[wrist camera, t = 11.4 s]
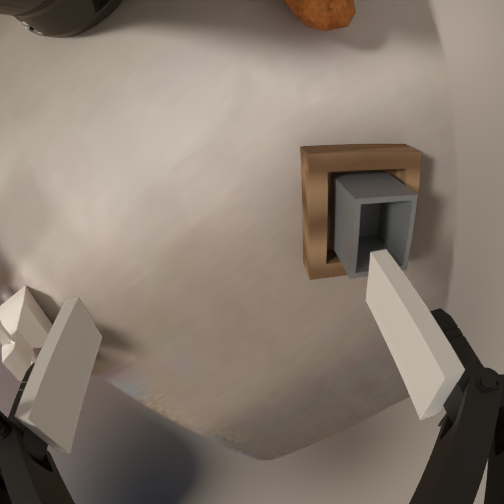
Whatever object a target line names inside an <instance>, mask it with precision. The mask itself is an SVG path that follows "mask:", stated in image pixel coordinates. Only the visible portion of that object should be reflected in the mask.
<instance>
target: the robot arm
mask: <svg viewBox="0 0 504 504" xmlns="http://www.w3.org/2000/svg"><path fill="white" fill-rule="evenodd" d="M122 1H123V0H0V14H4V15H12V16H14V17H15V18H16V19H18V20H19V21H21V22H22V24H23V25H24V26H25V27H26V28H27V29H28V30H30V31H31V32H33V33H36V34H38V35H42V36H48V37H57V38H60V37H68V36H73V35H76V34H79V33H82V32H84V31H86V30H88V29H90V28H92V27H93V26H95V25H97V24H98V23H100V22H101V21H102V20H104V19H105V18H106V17H107V16H109V15H110V14H111V13H112V12H113V11H114V10H115V9H116V8H117V7H118V5H119V4H120V3H121V2H122ZM366 302H367V304H368V306H369V308H370V310H371V312H372V314H373V316H374V318H375V320H376V322H377V324H378V326H379V328H380V330H381V333H382V335H383V337H384V339H385V341H386V343H387V345H388V347H389V349H390V352H391V354H392V356H393V358H394V360H395V363H396V365H397V367H398V369H399V371H400V374H401V376H402V378H403V380H404V383H405V385H406V387H407V390H408V392H409V394H410V397H411V399H412V401H413V404H414V406H415V409H416V411H417V413H418V416H419V418H420V420H422V419H425V418H428V417H430V416H433V415H435V414H438V413H439V411H440V410H441V408H442V406H444V408H445V410H446V412H447V413H446V414H445V416H444V417H443V419H442V420H441V421H440V423H439V425H438V426H440V427H441V429H440V432H439V435H438V438H437V440H436V443H435V446H434V448H433V451H432V454H431V456H430V459H429V461H428V463H427V466H426V468H425V471H424V473H423V475H422V477H421V480H420V482H419V484H418V486H417V488H416V491H415V493H414V495H413V497H412V499H411V501H410V503H409V504H473V502H474V500H475V497H476V494H477V491H478V489H479V486H480V482H481V480H482V476H483V473H484V470H485V467H486V463H487V460H488V470H487V482H486V491H485V498H484V504H504V375H499V374H498V373H497V372H495V371H494V370H492V369H490V368H484V367H483V365H482V364H481V362H480V361H479V359H478V357H477V356H476V354H475V353H474V351H473V349H472V348H471V346H470V345H469V343H468V341H467V340H466V338H465V337H464V336H463V334H462V332H461V331H460V329H459V328H458V327H457V325H456V323H455V322H454V320H453V319H452V317H451V316H450V315H449V314H447V313H446V312H445V311H443V310H442V309H441V308H440V309H437V310H433V311H429V310H428V308H427V307H426V305H425V304H424V302H423V301H422V299H421V298H420V296H419V295H418V293H417V292H416V290H415V289H414V287H413V286H412V284H411V283H410V281H409V280H408V279H407V277H406V276H405V274H404V273H403V271H402V270H401V269H400V267H399V266H398V264H397V263H396V262H395V260H394V259H393V258H392V256H391V255H390V254H389V252H388V251H387V249H385V250H379V251H373V252H370V263H369V274H368V284H367V294H366ZM102 338H103V337H102V336H101V334H100V332H99V331H98V329H97V327H96V326H95V324H94V322H93V321H92V319H91V317H90V316H89V314H88V312H87V310H86V309H85V307H84V305H83V303H82V301H81V300H80V298H79V297H72V298H66V300H65V302H64V304H63V306H62V308H61V310H60V312H59V314H58V316H57V318H56V320H55V322H54V324H53V326H52V328H51V330H50V332H49V334H48V336H47V338H46V340H45V342H44V345H43V347H42V349H41V351H40V353H39V356H38V358H37V360H36V363H33V364H32V365H31V366H30V367H29V369H28V370H27V371H26V373H25V376H24V378H23V380H22V382H23V383H21V385H20V388H19V391H18V393H17V396H16V398H15V401H14V403H13V406H12V409H11V412H10V414H9V417H8V418H7V417H6V416H5V415H4V414H3V413H2V412H1V411H0V504H75V503H74V501H73V499H72V497H71V495H70V494H69V492H68V490H67V488H66V486H65V484H64V482H63V480H62V478H61V476H60V474H59V471H58V469H57V467H56V465H55V463H54V460H53V458H52V456H51V454H50V453H49V451H47V447H48V445H49V446H51V447H52V448H53V449H54V450H56V451H59V452H65V453H70V452H71V447H72V443H73V438H74V434H75V430H76V426H77V422H78V418H79V414H80V410H81V407H82V403H83V399H84V396H85V392H86V388H87V385H88V382H89V379H90V375H91V372H92V369H93V365H94V362H95V359H96V356H97V353H98V350H99V347H100V344H101V341H102ZM441 425H442V426H441Z"/></svg>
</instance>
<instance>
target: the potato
mask: <svg viewBox="0 0 504 504" xmlns="http://www.w3.org/2000/svg"><path fill="white" fill-rule="evenodd" d="M284 1H285V2H286V4H287V5H288V6H289V7H290V9H291V10H292V11H293V13H294V14H295V15H296V17H297V18H298V19H299V20H301V21H302V22H303V23H304V24H305V25H306V26H308V27H312V28H315V29H318V30H322V31H327V30H332V29H337V28H342V27H347V26H348V25H349V23H350V21H351V20H352V18H353V16H354V14H355V13H356V12H355V6H354V1H353V0H284Z"/></svg>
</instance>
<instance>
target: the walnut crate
mask: <svg viewBox="0 0 504 504" xmlns="http://www.w3.org/2000/svg"><path fill="white" fill-rule="evenodd" d="M300 150H301V173H302V204H303V263H304V265H305V268H306V271H307V273H308V276H309V279H310V280H313V279H320V278H328V277H336V276H343V275H348V274H347V272H346V270H345V269H344V267H343V265H342V263H341V261H340V259H339V258H338V256H337V254H336V252H335V250H334V249H333V247H332V245H331V243H330V215H331V174H334V173H350V172H369V171H386V172H387V173H389V174H390V175H391V176H393V177H394V178H396V179H397V180H399V181H400V182H401V183H403V184H404V185H406V186H407V187H408V188H410V189H411V190H412V191H414V192H415V193H416V194H418V192H419V183H420V172H421V160H422V152H421V151H419V150H417V149H415V148H413V147H411V146H408V145H406V144H346V145H321V146H303V147H300ZM417 201H418V198H417ZM416 209H417V207H416ZM415 216H416V214H415ZM414 223H415V222H414ZM413 230H414V229H413ZM412 236H413V235H412ZM411 242H412V241H411ZM410 248H411V247H410Z"/></svg>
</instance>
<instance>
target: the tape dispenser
mask: <svg viewBox="0 0 504 504" xmlns="http://www.w3.org/2000/svg"><path fill="white" fill-rule="evenodd" d="M0 320H1V322H2V323H1V322H0V343H1V344H2V362H3V364H4V365H5V366H6V367H7V368H8V369H9V370H10V371H11V373H13V374H14V376H15V377H16V378H17V379H18V380H19V381H21V380H22V379H23V378H24V376H25V373H26V371H27V370H28V369H29V367H30V366H31V365H32V364H33V363H36V360H37V359H36V358H35V357H33V356H34V352H33V348H39V347H43V345H44V342H45V340H46V338H47V336H48V334H49V332H50V330H51V328H52V326H53V324H52V323H51V322H50V320H49V319H48V318H47V316H46V315H45V313H44V312H43V311H42V309H41V308H40V306H39V305H38V303H37V302H36V300H35V299H34V297H33V296H32V294H31V293H30V291H29V290H28V288H27V287H26V286H24V287H23V288H22V289H20V290H19V291H18V292H17V293H15V294H14V295H13V296H12V297H11V298H9V299H8V300H7V301H6V302H5V303H3V304H2V305H1V306H0Z"/></svg>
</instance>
